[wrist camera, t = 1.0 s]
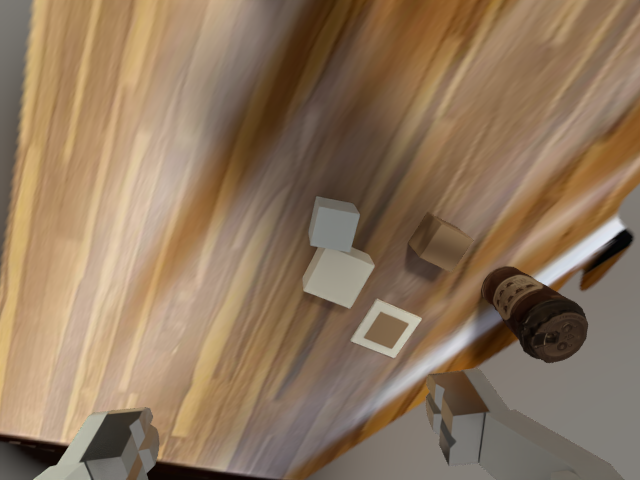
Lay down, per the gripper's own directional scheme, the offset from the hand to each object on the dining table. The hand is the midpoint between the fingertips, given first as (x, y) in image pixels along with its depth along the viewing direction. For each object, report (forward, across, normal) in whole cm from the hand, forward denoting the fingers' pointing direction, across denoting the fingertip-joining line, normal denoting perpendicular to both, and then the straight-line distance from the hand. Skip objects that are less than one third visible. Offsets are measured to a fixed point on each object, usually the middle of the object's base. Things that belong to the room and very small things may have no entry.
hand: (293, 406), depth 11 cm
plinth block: (+38, -5, +14) cm, 40 cm away
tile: (+38, -12, +25) cm, 47 cm away
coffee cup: (+38, -30, +19) cm, 52 cm away
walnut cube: (+38, -19, +10) cm, 43 cm away
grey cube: (+38, -5, +6) cm, 38 cm away
